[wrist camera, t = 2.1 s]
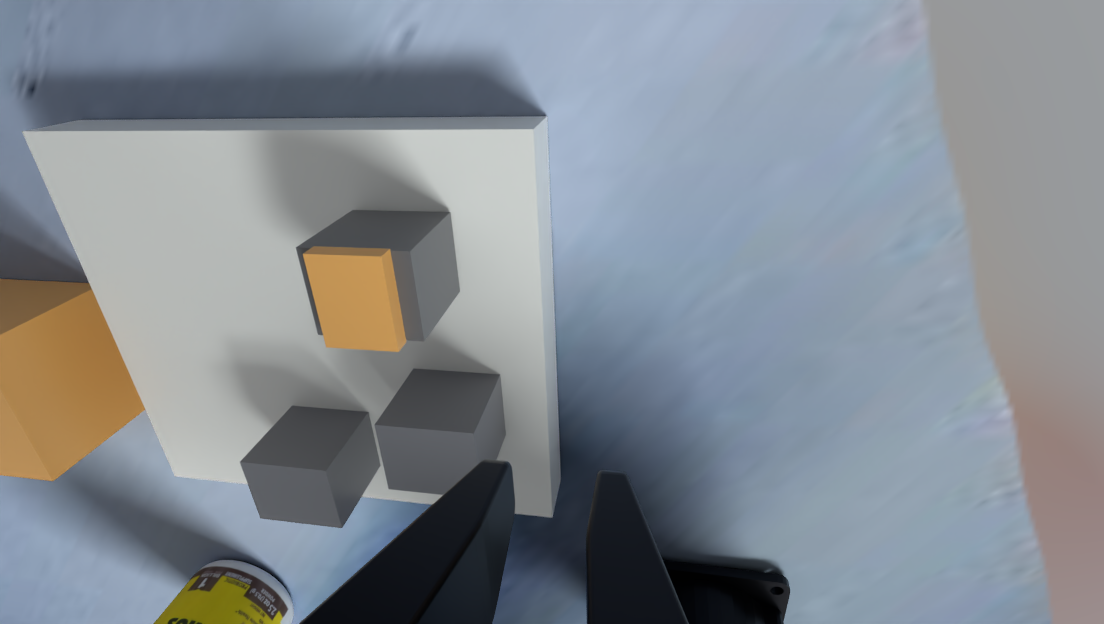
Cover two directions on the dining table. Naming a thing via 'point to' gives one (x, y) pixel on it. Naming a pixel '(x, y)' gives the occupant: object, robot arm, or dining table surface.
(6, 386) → the orange block
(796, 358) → the dining table surface
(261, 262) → the board
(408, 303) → the block
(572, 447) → the dining table surface
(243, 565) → the supplement bottle
